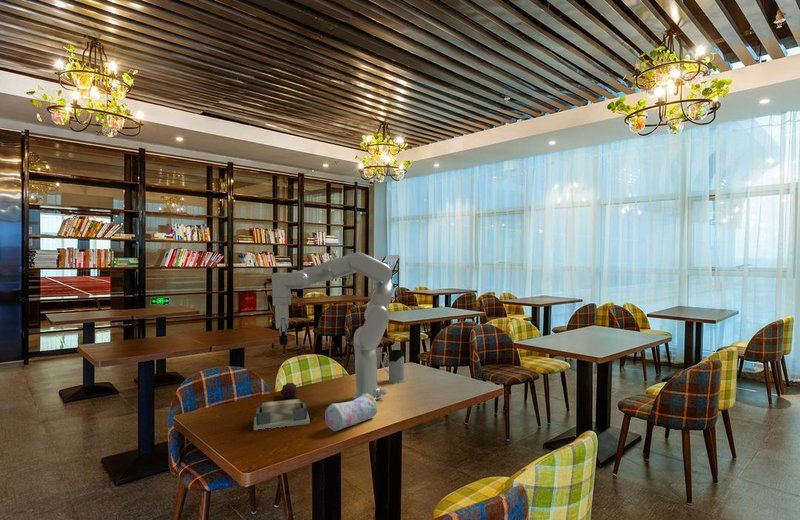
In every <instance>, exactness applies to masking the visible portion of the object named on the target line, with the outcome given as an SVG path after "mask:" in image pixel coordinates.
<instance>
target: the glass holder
mask: <svg viewBox="0 0 800 520" xmlns="http://www.w3.org/2000/svg"><path fill="white" fill-rule="evenodd" d="M382 354H384V355H385V356H386V361H387V362H388V369H387V368H386V367H385V366H384V364H383V360H382ZM404 356H405V355H404V350H402V349H391V350H388V354H387V352H381V353H380V356H379V360H380V363H381V366H382V368H383V369H384V370H385V371H386V372H387V373H388V381H389V382H388V383H390V382H395V383H394V384H399V383H398V382H402V383H405V382H406V381H405V380H406V378H405V377H406V376H405V357H404ZM404 381H405V382H404ZM396 382H397V383H396Z"/></svg>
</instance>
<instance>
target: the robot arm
mask: <svg viewBox="0 0 800 520" xmlns="http://www.w3.org/2000/svg"><path fill="white" fill-rule="evenodd" d="M356 273H359V274H361V275H363V276H365V277H366V278H368V279H371V280H372V282H373V284H374V285H373V287H374V288H373V292H372V295H371V297H370V300H369V302H368V305H367V307H366V308H365V311H364V319H365V321H364V324H363V325H362V326H360V327H358V328H357V329H356V330H355V332H354V334H353V347H354V348H353V349H354V362H355V363H354V365H355V366H354V367H355V369H354V370H355V371H354V373H355V393H354V394H353V395H352V399H353V400H355V399H357V398H358V397H359V396H361V395H362V394H363V393H364V394H366V393H368V394H370V395H371V396H373V397H374V399H375V400H376V401H377V400H380V399H381V397H382V396H386V395H387V390H386V389H381V388H380V385H378V365H377V363H378V361H377V360H378V358H377V357H378V356H377V348H378V346H379V345H380V344H381V341H382V339H383V336H384V333H385V331H386V329H387V327H388V324H389V321H390V313H389V310H388V308H389V306H390V302H391V300H392V297H393V294H394V283H393V279H392V277H393V270H392V268H391V266H389V265H388V264H386V263H384V262H382V261H380V260H378V259H376V258H374V257H373V256H370V255H368V254H366V253H364V252H362V251H361V252H360V251H357V252H354V253H353V252H352V253H351V254H350V253H349V254H347V255H343V256H339V257H336V258H334V259H329V260H326V261H325V262H322V263H319V264H317V265H314V266H311V267H307V268H304V269H301V270H298V271H294V272H293V271H292V272H274V273H272V275H271V291H272V292H271V293H272V294H271V295H272V306H274V307H275V309H274V311H275V312H274V313H275V314H274V315H275V328H276V329H277V330H278V331H279V335H278V337H279V338H278V339H279V346H284V345H285V346H287V345H288V333H287V331H288V328H289V323H290V322H289V306H291V305H292V294H291V289H296V290H302V289H304V288H306V287H307V286H311V285H314V284H317V283H321V282H327V281H333V280H336V279H339V278H343V277H345V276H348V275H352V274H356Z"/></svg>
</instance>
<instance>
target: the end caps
mask: <svg viewBox="0 0 800 520" xmlns="http://www.w3.org/2000/svg"><path fill="white" fill-rule="evenodd" d="M300 402H301V401H300ZM307 412H308V410H307V406H306V402H305V401H302V402H301V408H300V409H293V415H294V421H296V420H305V419H307ZM255 413H256V415H255V417H256V422H257V425H262V424H270V412H264V413H262V406H257V407H256V412H255Z"/></svg>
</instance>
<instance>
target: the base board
mask: <svg viewBox="0 0 800 520" xmlns="http://www.w3.org/2000/svg"><path fill="white" fill-rule="evenodd" d="M310 422H311V420H310V416H309V412H308V411H307V419H305V420H296V421H294V419H290V420H282V421H273V422H270V424H262V425H257V422H256V416H254V419H253V431H259V430H258V429H262V430H266V429H265V428H271V429H277V428H276V427H279V428H285V426H287V427H294V426H302V425H303V426H304V425H309V424H311V423H310Z"/></svg>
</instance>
